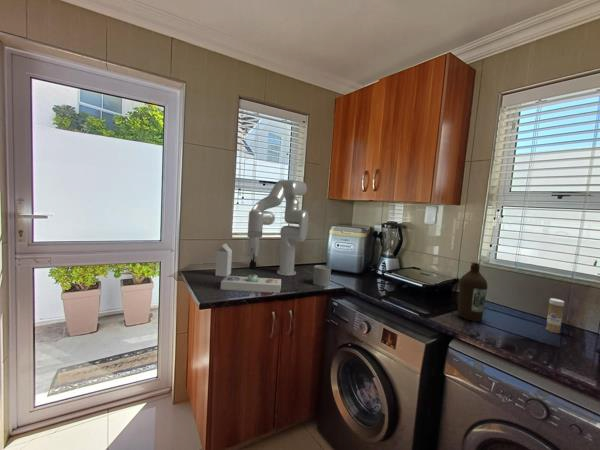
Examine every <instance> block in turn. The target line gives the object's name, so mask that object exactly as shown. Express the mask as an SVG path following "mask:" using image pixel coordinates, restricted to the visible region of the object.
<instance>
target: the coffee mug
mask: <svg viewBox="0 0 600 450" xmlns="http://www.w3.org/2000/svg"><path fill="white" fill-rule="evenodd" d="M331 272H332V267H330V266H328V265H322V264H321V265H314V267H313V278H312V284H313V285H315V286H318V287H329V286H331V275H332V274H331Z"/></svg>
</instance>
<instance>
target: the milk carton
mask: <svg viewBox="0 0 600 450" xmlns="http://www.w3.org/2000/svg"><path fill="white" fill-rule="evenodd" d="M215 255H216V256H215V257H216V258H215V276H216V277H224V278H225V277H226V276H231V274H232V259H233V256H232V255H233V250H232V249H231V248H230V247H229V246H228V243H223V244H222V245H220V246H219V247H218V250H216V254H215Z"/></svg>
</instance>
